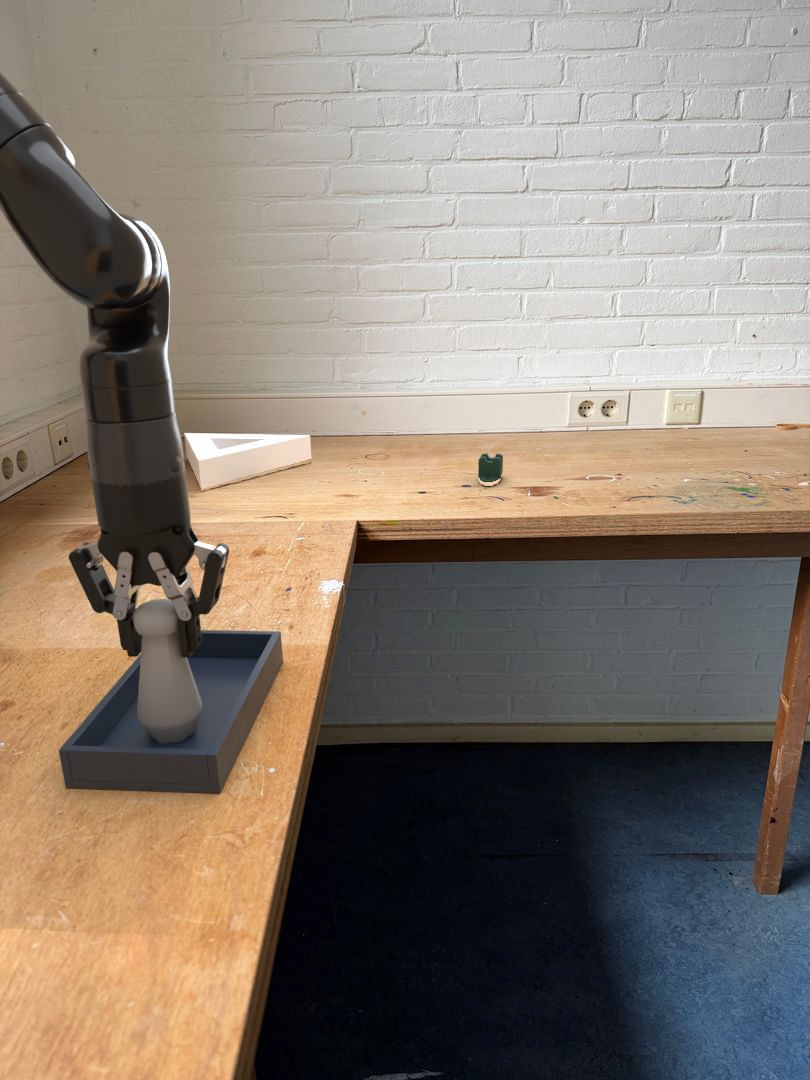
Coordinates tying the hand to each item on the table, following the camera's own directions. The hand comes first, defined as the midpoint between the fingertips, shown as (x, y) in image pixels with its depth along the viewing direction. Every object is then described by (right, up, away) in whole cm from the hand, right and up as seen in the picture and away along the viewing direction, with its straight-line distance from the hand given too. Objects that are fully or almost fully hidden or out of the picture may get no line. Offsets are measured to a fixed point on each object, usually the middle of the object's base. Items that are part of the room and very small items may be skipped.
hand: (162, 652), depth 72 cm
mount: (+39, +22, +91) cm, 101 cm away
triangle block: (-16, +24, +98) cm, 102 cm away
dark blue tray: (+1, -7, +7) cm, 10 cm away
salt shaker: (0, -8, +3) cm, 8 cm away
